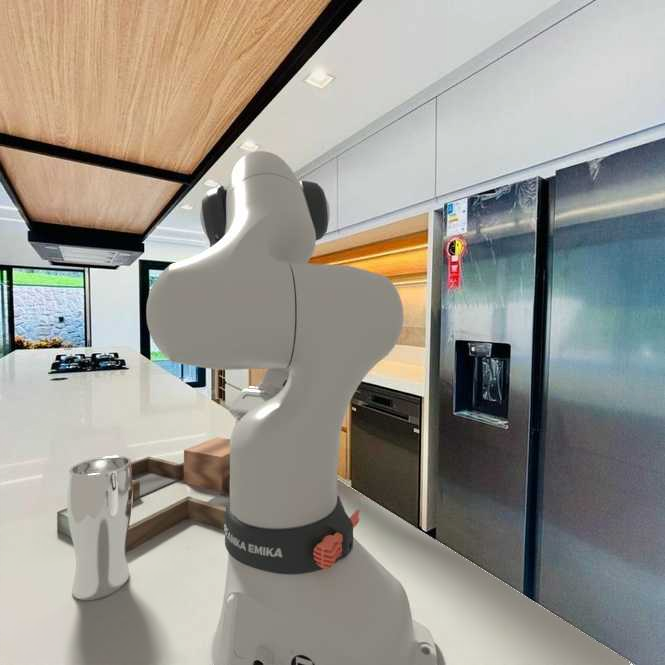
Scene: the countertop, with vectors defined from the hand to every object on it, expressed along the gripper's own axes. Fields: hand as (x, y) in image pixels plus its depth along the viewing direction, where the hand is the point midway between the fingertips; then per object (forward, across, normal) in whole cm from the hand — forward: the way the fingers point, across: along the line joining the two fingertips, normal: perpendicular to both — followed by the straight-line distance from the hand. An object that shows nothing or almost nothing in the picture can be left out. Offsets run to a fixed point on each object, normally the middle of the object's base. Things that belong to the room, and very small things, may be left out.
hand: (251, 435), depth 89 cm
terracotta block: (+12, 0, -3) cm, 12 cm away
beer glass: (+34, +11, -25) cm, 44 cm away
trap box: (+19, 0, -10) cm, 22 cm away
